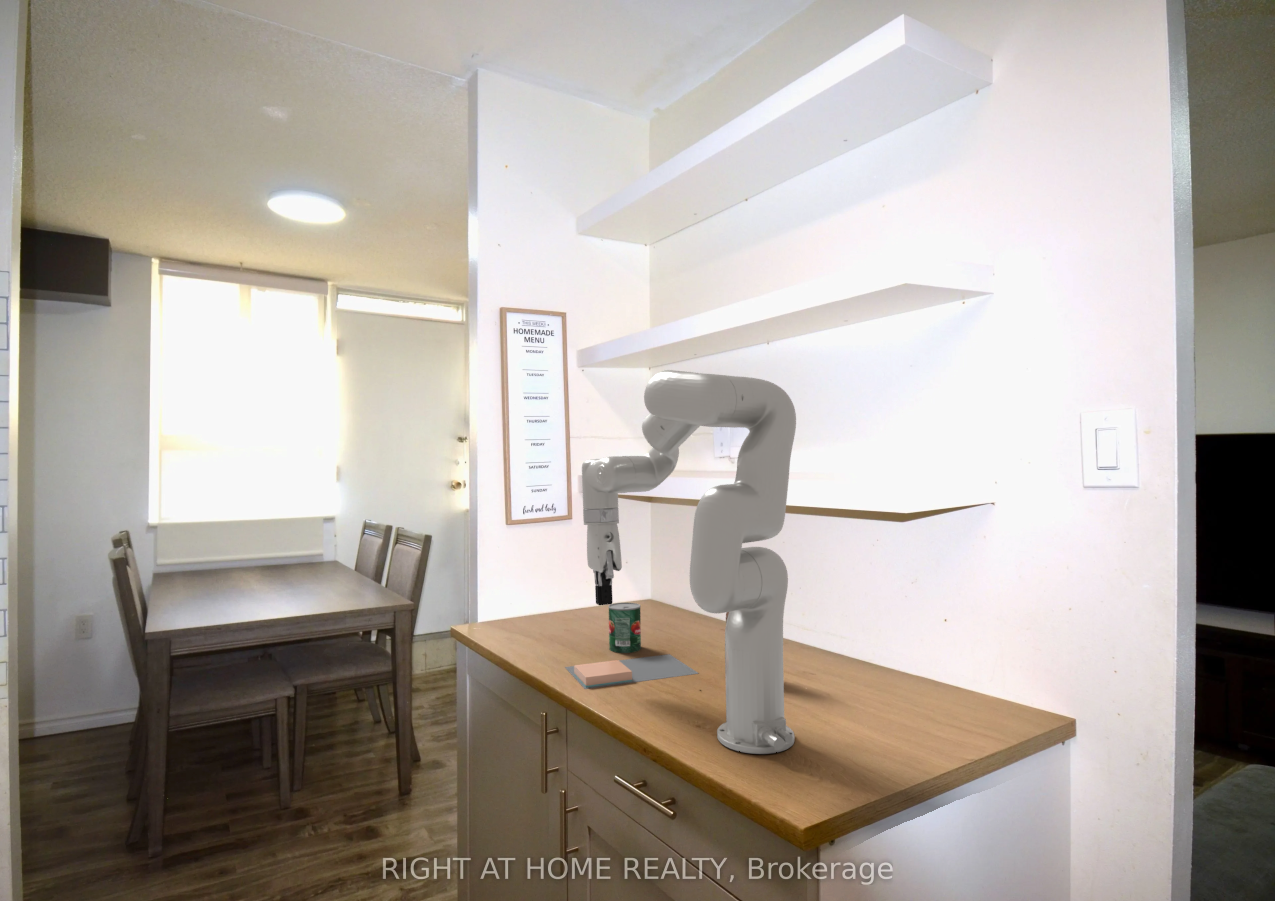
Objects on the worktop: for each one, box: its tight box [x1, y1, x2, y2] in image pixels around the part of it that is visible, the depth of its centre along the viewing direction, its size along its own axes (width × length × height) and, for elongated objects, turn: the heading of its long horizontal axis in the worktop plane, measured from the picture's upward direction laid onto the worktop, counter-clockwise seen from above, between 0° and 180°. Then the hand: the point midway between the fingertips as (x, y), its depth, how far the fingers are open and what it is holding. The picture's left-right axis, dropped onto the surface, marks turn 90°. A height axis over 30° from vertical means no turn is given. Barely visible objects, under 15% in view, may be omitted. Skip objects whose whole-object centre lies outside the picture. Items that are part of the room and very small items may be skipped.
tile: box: [573, 659, 632, 687], centre depth 145 cm, size 2×10×9 cm
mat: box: [564, 653, 700, 690], centre depth 150 cm, size 16×26×1 cm, turn 111°
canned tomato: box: [607, 602, 642, 654], centre depth 168 cm, size 8×8×11 cm
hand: (604, 603), depth 145 cm, fingers closed
